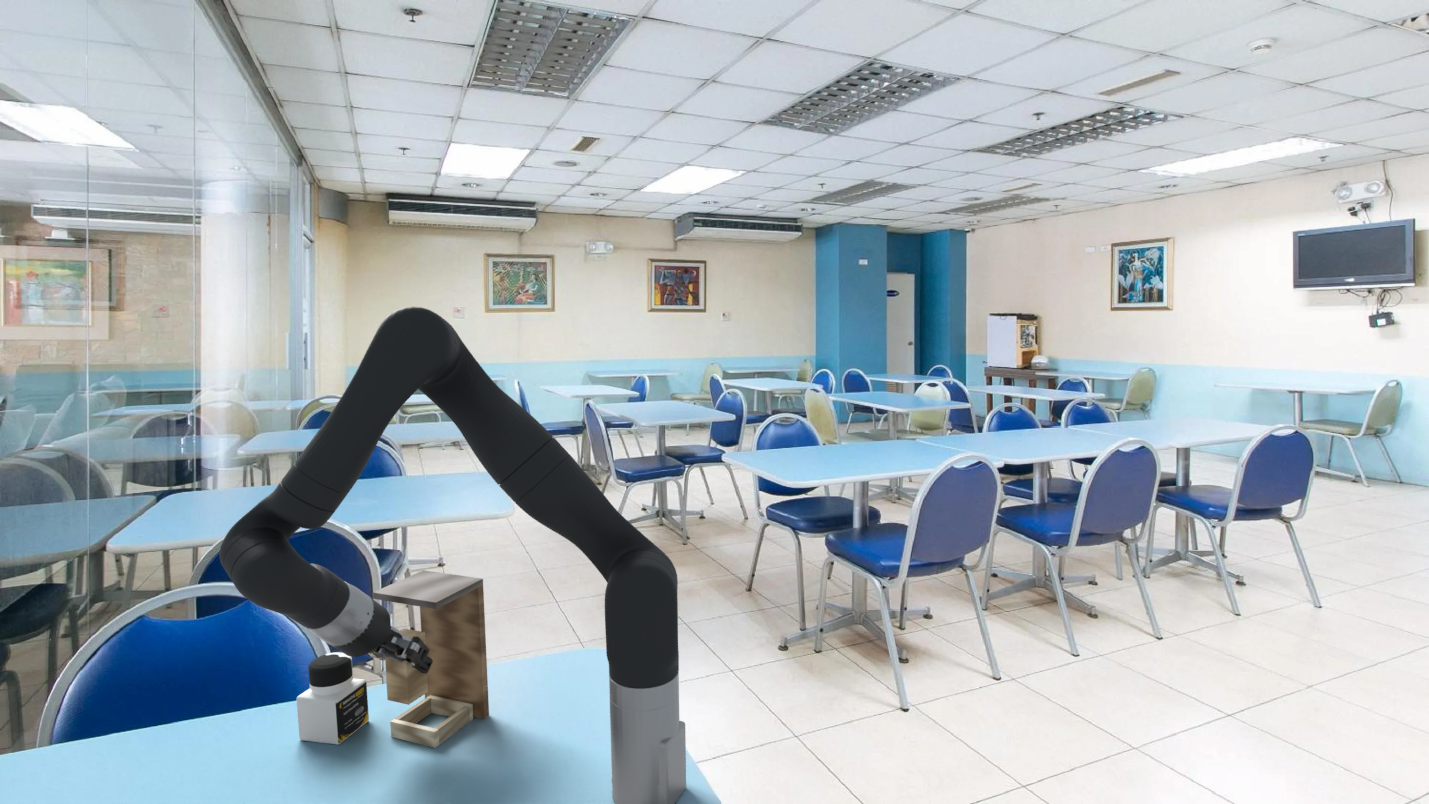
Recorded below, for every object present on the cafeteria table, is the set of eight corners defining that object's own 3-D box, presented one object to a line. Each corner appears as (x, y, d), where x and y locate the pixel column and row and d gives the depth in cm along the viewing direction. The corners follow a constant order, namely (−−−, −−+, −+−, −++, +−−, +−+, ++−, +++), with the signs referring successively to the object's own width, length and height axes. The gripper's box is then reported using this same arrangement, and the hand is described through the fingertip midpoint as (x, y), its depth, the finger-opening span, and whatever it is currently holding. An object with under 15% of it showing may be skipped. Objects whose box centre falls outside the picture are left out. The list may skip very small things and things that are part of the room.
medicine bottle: (339, 745, 112) (334, 670, 111) (298, 740, 114) (292, 666, 112) (370, 720, 119) (365, 649, 118) (331, 716, 121) (326, 646, 119)
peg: (428, 692, 113) (425, 632, 112) (408, 704, 109) (405, 643, 108) (407, 687, 114) (404, 628, 113) (387, 699, 111) (384, 638, 109)
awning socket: (489, 715, 120) (482, 578, 118) (443, 750, 111) (435, 602, 108) (430, 702, 125) (423, 570, 122) (381, 735, 115) (372, 592, 112)
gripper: (401, 598, 100) (465, 647, 113) (322, 586, 105) (392, 634, 118) (372, 652, 96) (442, 697, 108) (292, 637, 101) (368, 681, 114)
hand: (416, 664), depth 113 cm, fingers closed on peg, 4 cm apart
